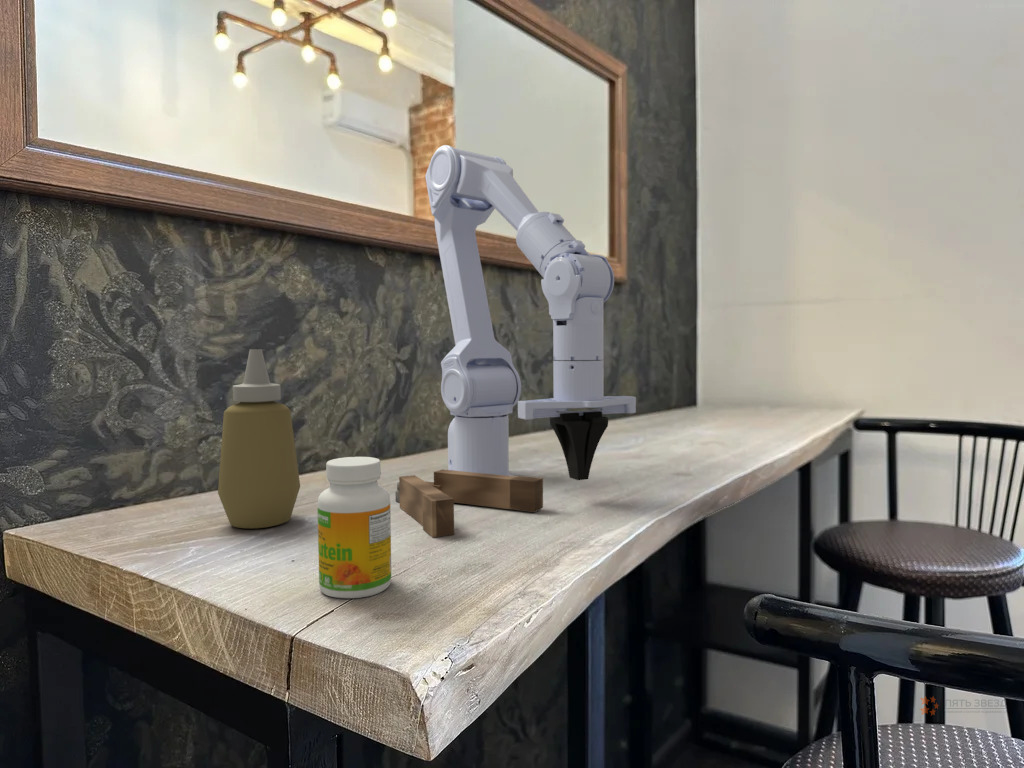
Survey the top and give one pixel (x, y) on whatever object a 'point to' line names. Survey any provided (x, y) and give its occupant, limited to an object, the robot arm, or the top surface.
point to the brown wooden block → (426, 505)
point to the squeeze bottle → (258, 452)
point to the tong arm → (490, 489)
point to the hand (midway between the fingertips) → (578, 478)
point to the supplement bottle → (354, 530)
